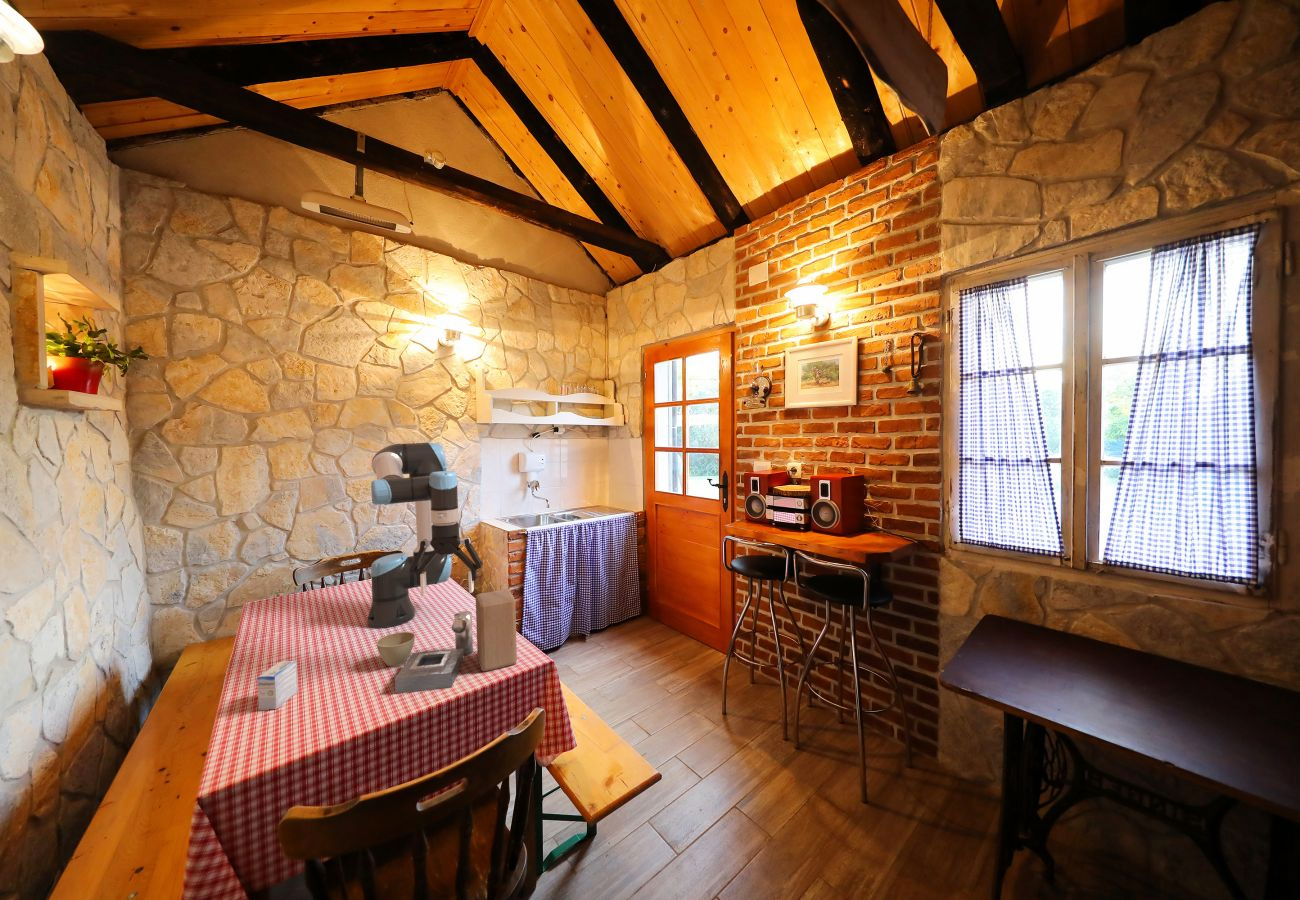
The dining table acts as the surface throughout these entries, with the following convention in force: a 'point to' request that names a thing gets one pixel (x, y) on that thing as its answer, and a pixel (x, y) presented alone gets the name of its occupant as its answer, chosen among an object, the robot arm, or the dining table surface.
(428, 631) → the dining table surface
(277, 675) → the medicine box
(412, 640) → the flower pot
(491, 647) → the block
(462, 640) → the elbow
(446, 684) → the duct socket
